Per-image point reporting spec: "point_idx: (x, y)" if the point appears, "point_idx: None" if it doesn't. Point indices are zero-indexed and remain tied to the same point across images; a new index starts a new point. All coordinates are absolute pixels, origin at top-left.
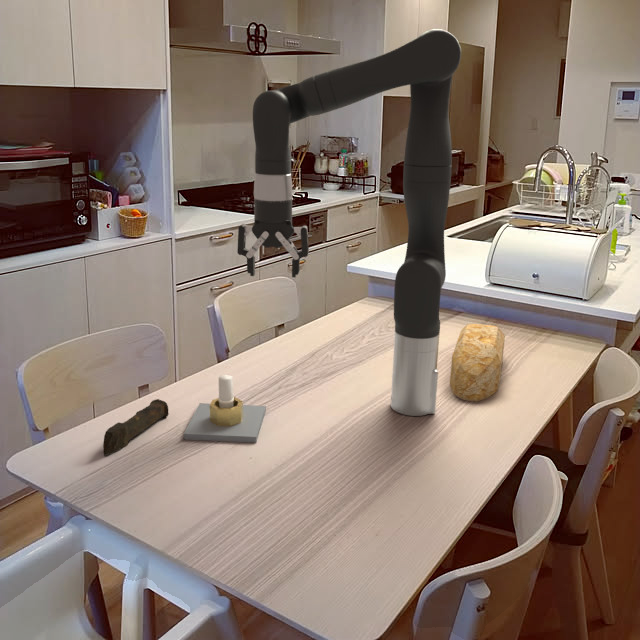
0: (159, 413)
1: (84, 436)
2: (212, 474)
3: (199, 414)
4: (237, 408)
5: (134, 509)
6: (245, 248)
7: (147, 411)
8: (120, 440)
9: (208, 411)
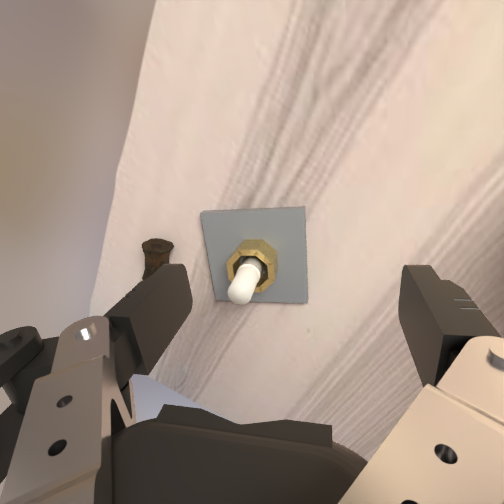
0: (165, 263)
1: (114, 295)
2: (274, 359)
3: (214, 249)
4: (270, 283)
5: (226, 402)
6: (29, 370)
7: None
8: None
9: (222, 239)
